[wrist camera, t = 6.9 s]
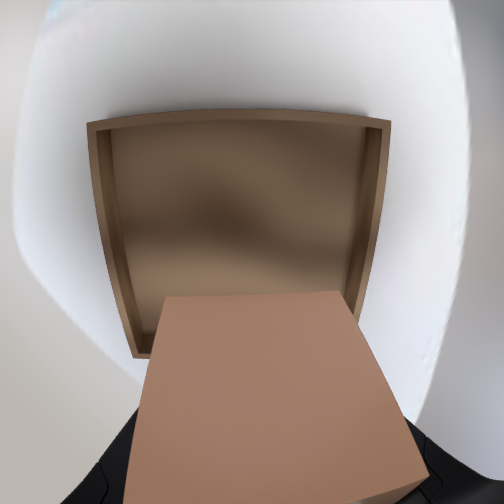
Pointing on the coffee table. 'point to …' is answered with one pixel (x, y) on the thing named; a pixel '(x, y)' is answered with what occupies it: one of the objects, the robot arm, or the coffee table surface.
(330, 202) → the walnut tray
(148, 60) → the coffee table surface
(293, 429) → the terracotta block
